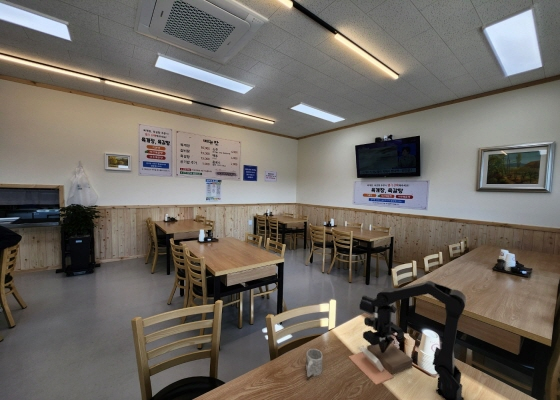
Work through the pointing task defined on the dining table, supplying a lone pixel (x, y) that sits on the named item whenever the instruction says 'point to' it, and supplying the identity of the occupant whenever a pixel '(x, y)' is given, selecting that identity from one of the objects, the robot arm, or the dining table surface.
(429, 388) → the dining table surface
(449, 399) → the robot arm
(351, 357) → the mat
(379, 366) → the grey flat block
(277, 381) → the dining table surface
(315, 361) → the mug
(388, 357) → the brown rectangular block
